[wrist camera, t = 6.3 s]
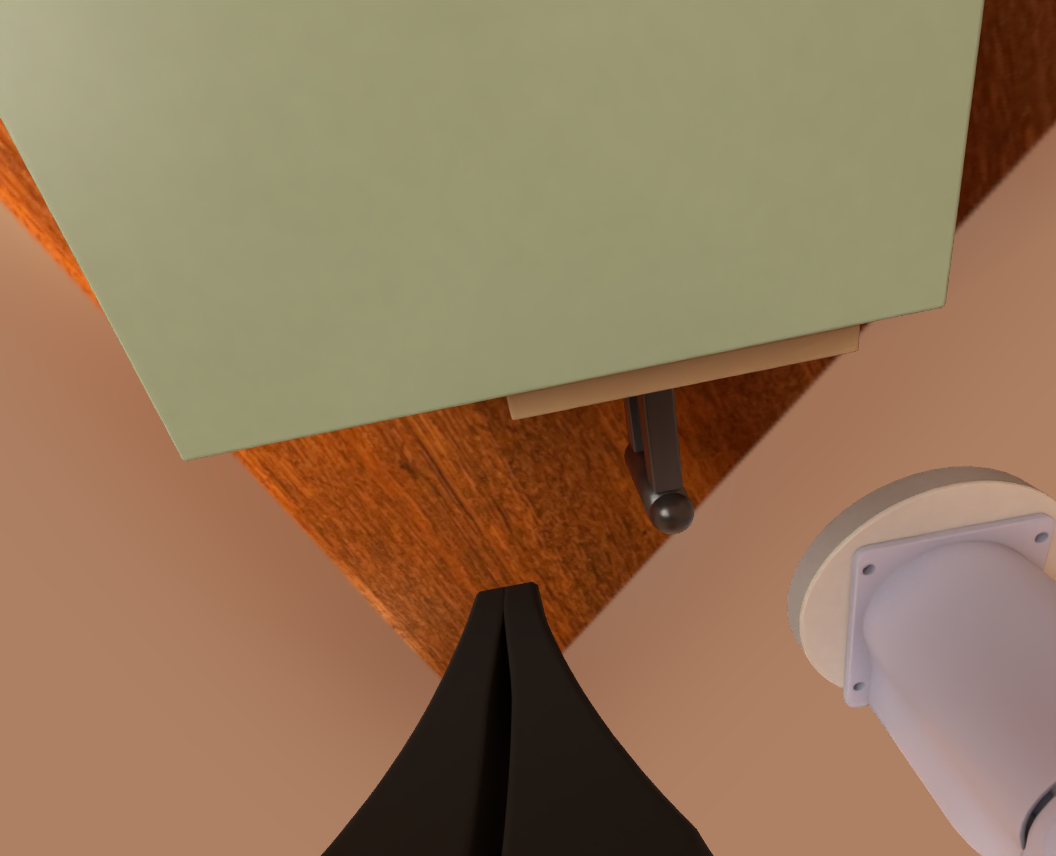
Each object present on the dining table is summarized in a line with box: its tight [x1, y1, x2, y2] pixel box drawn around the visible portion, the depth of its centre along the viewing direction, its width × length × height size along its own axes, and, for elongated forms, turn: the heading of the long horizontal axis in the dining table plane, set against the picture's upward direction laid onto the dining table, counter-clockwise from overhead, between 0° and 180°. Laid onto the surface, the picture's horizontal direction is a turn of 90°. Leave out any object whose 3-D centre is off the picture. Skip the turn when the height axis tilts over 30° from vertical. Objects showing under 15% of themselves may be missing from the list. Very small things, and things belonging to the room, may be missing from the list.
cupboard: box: [0, 0, 985, 461], centre depth 12 cm, size 11×14×9 cm
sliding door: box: [506, 324, 860, 534], centre depth 15 cm, size 6×7×7 cm
